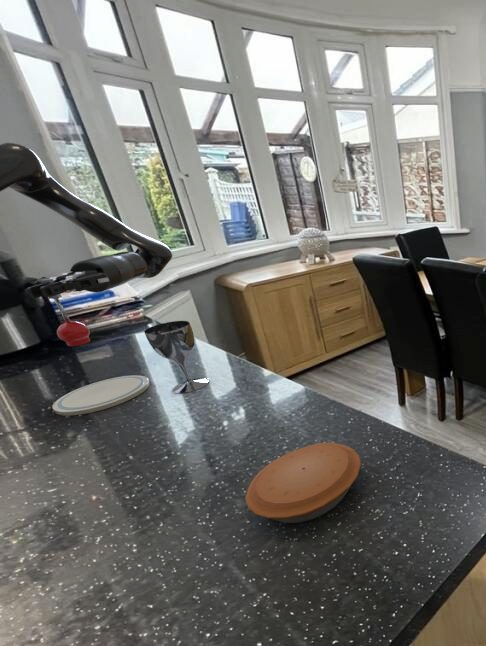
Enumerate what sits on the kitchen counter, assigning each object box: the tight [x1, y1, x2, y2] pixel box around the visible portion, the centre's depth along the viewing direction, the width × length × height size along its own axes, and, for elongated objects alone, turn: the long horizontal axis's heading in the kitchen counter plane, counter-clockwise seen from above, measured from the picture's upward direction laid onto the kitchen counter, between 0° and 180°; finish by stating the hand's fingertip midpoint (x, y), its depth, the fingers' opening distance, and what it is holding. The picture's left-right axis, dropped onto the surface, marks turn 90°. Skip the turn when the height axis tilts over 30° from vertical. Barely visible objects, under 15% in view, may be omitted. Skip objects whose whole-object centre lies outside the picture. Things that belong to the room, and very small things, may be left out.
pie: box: [244, 442, 362, 524], centre depth 59 cm, size 15×16×5 cm
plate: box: [51, 374, 151, 417], centre depth 90 cm, size 16×16×1 cm
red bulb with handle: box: [40, 279, 91, 347], centre depth 84 cm, size 5×5×14 cm
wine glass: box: [143, 320, 210, 394], centre depth 90 cm, size 8×8×15 cm
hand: (37, 292), depth 80 cm, fingers closed on red bulb with handle
